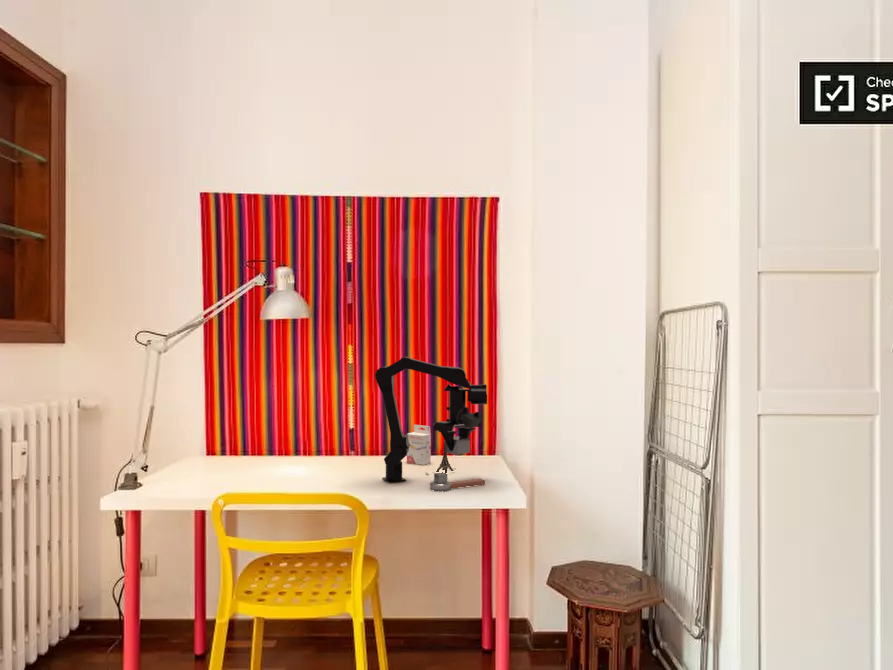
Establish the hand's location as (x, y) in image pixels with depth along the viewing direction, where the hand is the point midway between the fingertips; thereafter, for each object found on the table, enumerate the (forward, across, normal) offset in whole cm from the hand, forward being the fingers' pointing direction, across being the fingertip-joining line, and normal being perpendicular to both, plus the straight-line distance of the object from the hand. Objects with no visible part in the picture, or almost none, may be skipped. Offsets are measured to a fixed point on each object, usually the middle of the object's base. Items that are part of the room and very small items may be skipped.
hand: (457, 449), depth 216 cm
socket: (+1, 0, 0) cm, 1 cm away
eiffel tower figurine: (+12, +8, +14) cm, 20 cm away
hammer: (+11, -6, -5) cm, 14 cm away
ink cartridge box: (+11, +13, +32) cm, 36 cm away
